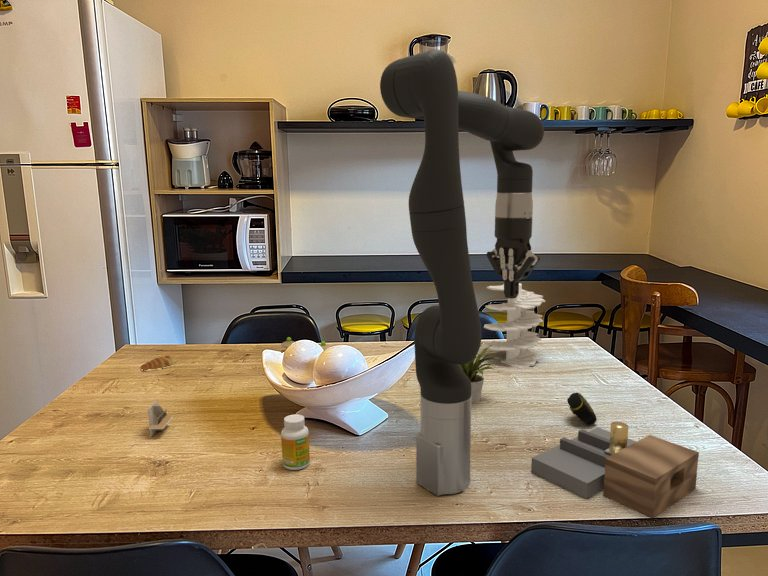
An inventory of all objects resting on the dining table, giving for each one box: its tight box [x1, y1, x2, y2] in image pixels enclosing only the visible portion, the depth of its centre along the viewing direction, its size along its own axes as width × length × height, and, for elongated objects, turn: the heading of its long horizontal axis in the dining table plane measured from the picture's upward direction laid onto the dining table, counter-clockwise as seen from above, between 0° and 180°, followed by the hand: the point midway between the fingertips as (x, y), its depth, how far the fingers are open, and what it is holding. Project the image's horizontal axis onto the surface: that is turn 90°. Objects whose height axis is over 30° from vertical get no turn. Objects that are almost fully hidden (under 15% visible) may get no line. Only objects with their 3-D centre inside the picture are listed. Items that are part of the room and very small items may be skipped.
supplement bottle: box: [280, 413, 311, 471], centre depth 111 cm, size 5×5×10 cm
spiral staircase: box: [481, 282, 546, 370], centre depth 172 cm, size 18×18×25 cm
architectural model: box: [147, 399, 174, 438], centre depth 125 cm, size 3×7×7 cm, turn 3°
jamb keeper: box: [602, 434, 700, 519], centre depth 99 cm, size 15×9×7 cm, turn 127°
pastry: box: [140, 354, 175, 370], centre depth 169 cm, size 9×7×4 cm
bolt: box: [604, 421, 674, 479], centre depth 101 cm, size 4×11×7 cm, turn 37°
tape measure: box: [567, 392, 598, 425], centre depth 129 cm, size 7×7×4 cm
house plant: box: [458, 340, 498, 405], centre depth 141 cm, size 14×14×16 cm
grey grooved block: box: [530, 427, 637, 500], centre depth 109 cm, size 22×12×5 cm, turn 127°
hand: (511, 297), depth 118 cm, fingers closed
